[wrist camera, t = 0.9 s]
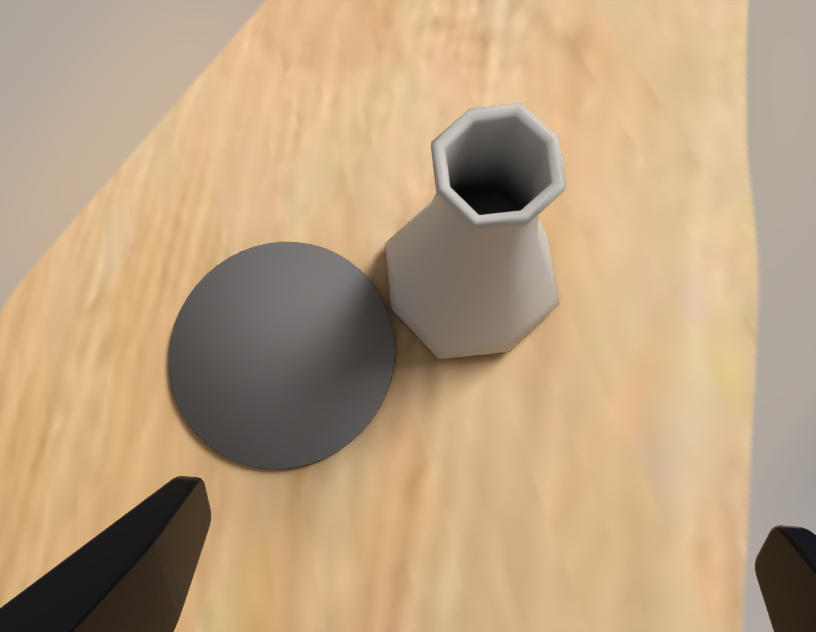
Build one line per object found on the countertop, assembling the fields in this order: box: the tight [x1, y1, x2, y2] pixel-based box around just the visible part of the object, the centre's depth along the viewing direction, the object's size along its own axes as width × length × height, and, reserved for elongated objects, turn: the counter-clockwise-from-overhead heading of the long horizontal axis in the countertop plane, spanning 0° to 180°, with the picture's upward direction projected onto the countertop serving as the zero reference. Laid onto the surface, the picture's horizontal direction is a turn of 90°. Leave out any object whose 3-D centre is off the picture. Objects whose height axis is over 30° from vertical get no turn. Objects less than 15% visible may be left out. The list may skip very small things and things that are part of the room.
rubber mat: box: [169, 242, 395, 469], centre depth 22 cm, size 10×10×1 cm
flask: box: [385, 103, 567, 359], centre depth 18 cm, size 7×7×10 cm
